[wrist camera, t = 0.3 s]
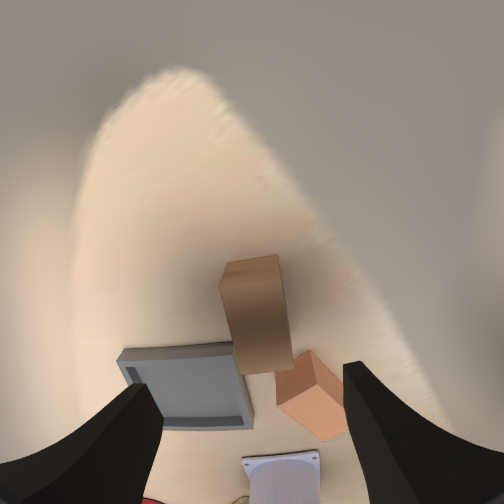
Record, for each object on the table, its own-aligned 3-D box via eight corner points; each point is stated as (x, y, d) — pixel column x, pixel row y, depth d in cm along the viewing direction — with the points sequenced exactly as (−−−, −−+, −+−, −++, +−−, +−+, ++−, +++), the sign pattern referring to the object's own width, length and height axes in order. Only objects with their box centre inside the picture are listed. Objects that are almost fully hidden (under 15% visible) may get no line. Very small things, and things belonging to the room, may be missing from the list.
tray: (253, 414, 23) (253, 428, 21) (158, 416, 24) (153, 429, 22) (234, 341, 21) (231, 355, 19) (124, 349, 21) (116, 360, 20)
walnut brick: (289, 333, 20) (294, 368, 17) (245, 339, 21) (241, 375, 17) (277, 254, 19) (280, 277, 15) (228, 262, 19) (219, 287, 15)
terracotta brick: (348, 389, 22) (359, 423, 18) (317, 407, 23) (323, 441, 19) (309, 348, 21) (317, 384, 17) (275, 370, 21) (276, 406, 18)
